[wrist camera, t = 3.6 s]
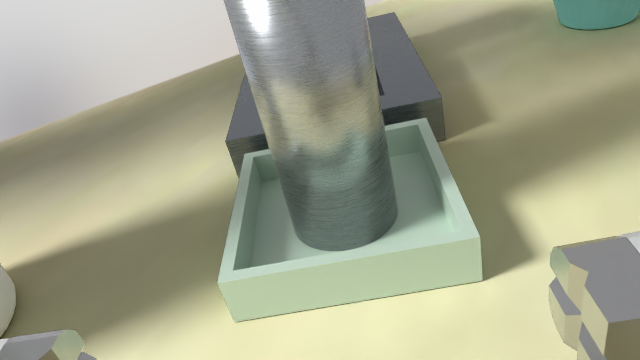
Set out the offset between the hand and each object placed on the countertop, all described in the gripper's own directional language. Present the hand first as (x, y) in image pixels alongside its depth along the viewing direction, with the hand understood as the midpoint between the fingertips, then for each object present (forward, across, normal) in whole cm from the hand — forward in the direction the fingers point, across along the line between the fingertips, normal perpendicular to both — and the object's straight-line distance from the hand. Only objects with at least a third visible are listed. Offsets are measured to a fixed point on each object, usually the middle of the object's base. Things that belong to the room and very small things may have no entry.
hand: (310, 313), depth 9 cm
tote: (+11, 0, +7) cm, 13 cm away
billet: (+11, 0, +6) cm, 13 cm away
